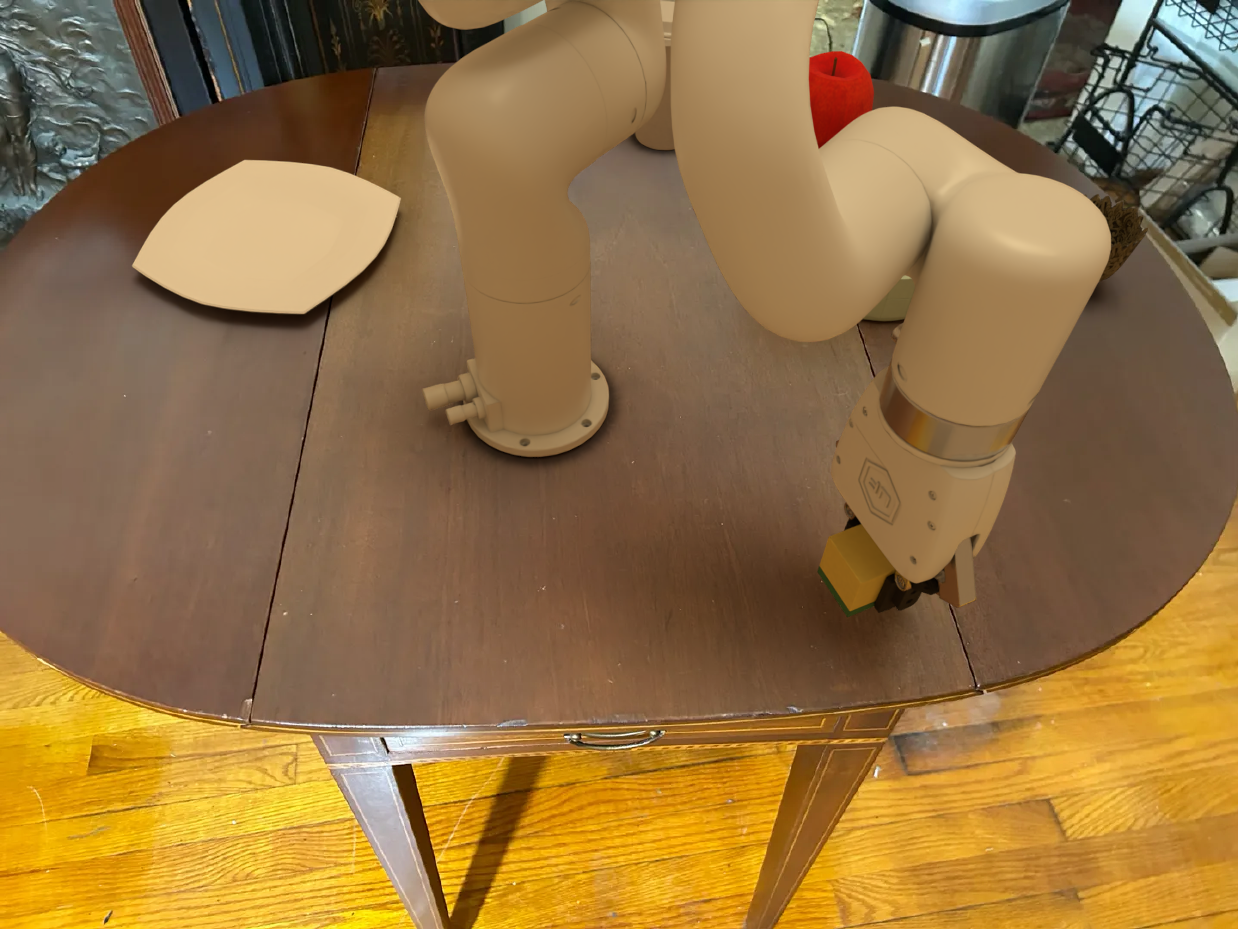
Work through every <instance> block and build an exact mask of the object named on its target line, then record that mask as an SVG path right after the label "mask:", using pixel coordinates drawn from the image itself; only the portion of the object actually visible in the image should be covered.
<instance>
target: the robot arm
mask: <svg viewBox="0 0 1238 929" xmlns="http://www.w3.org/2000/svg"><path fill="white" fill-rule="evenodd" d="M417 1H418V2H419V4H420V5H421V7H422V8H423V9H424V11H425V12H426V13H427V14H428V16H430V17H431V18H433V19H434V20H435V21H436V22H437V23H439V24H440V25H443V26H445V27H448V28H452V29H457V30H463V31H464V30H465V31H467V30H474V29H481V28H486V27H489V26H491V25H494V24H497V23H499V22H501V21H503V20H506V19H509V18H511V17H513V16H515V15H517V14H519V13H521V12H524V11H525V10H528V9H529V8H532V7H534V6H535V5H537V4H539V3H541V2H543V1H544V3H545V8H546V11H545V12H543V13H542V14H540V15H539V16H536V17H535V18H533V19H531V20H529V21H526V22H525V23H524V24H521V25H518V26H516V27H514V28H512V29H511V30H508V31H507V32H504V33H503V34H501V35H499V36H498V37H496V38H493V39H492V40H491V41H489V42H487V43H484V44H482V45H480V46H479V47H477V48H475V49H474V50H472V51H471V52H469V53H468V54H465V55H464V56H463V57H462V58H460V59H459V60H458V61H456V62H455V63H453V64H452V65H451V66H450V67H449V68H448V69H447V70H446V71H445V72H444V73H442V75H441V76H440V77H439V78H438V80H437V81H436V82H435V84H434V85H433V87H432V88H431V91H430V93H429V95H428V98H427V99H426V103H425V107H424V116H423V117H424V118H423V123H424V124H423V125H424V132H425V137H426V141H427V144H428V147H429V152H430V153H431V156H432V159H433V162H434V164H435V166H436V170H437V172H438V174H439V176H440V179H441V182H442V185H443V188H444V191H445V193H446V196H447V200H448V204H449V207H450V210H451V214H452V215H451V216H452V219H453V225H454V228H455V233H456V240H457V245H458V251H459V258H460V265H461V271H462V276H463V277H462V278H463V285H464V290H465V297H466V304H467V310H468V311H467V312H468V319H469V325H470V332H471V340H472V347H473V353H474V357H473V358H470V359H467V360H466V366H467V372H465V373H461V374H458V375H457V380H454V381H450V382H446V383H438V384H435V385H431V386H428V387H427V386H426V387H425V388H421V392H422V397H423V400H424V404H425V405H426V408H427V411H428V412H431V411H434V410H436V409H441V408H444V407H447V406H450V404H454V403H457V402H461V401H463V404H462V405H461V404H458V405H455V406H453V407H452V406H451V407H449V408H445V409H444V410H445V414H446V415H445V416H446V418H447V420H448V423H449V425H450V426H452V425H455V424H459V423H462V422H465V421H467V423H468V425H469V427H470V429H471V430H472V431H473V432H474V433H475V435H476V436H477V437H478V438H479V439H480V440H482V441H483V442H484V443H485V444H486V445H488V446H490V447H492V448H494V449H496V450H498V451H500V452H504V453H506V454H510V455H514V456H519V457H520V456H521V457H527V458H533V457H534V458H536V457H537V458H539V457H540V458H542V457H549V456H556V455H559V454H562V453H566V452H568V451H570V450H572V449H575V448H577V447H578V446H581V445H583V444H584V443H585V442H586V441H588V440H590V438H593V436H594V435H595V434H596V433H597V432H598V431H599V429H601V426H602V425H603V423H604V422H605V420H606V418H607V414H608V411H609V406H610V405H609V404H610V391H609V390H610V389H609V384H608V382H607V379H606V376H605V375H604V373H603V372H602V370H601V368H599V366H598V365H597V364H596V363H595V362H594V361H593V360H592V272H591V271H592V265H591V264H592V262H591V237H590V231H589V227H588V223H587V220H586V218H585V217H584V215H583V213H582V212H581V210H580V209H579V208H578V207H577V206H576V204H574V203H573V202H572V201H570V198H569V193H568V192H569V188H570V186H571V183H572V182H573V181H574V179H575V178H576V176H578V175H579V174H580V173H582V172H583V171H584V170H586V169H587V168H588V167H590V166H591V165H592V164H594V163H595V162H596V161H597V160H598V159H600V158H601V157H602V156H604V155H605V154H607V153H608V152H610V151H611V150H612V149H614V148H615V147H617V146H618V145H620V144H621V143H622V142H624V141H625V140H627V139H628V138H629V137H631V136H633V135H634V134H635V132H636V131H638V130H639V129H640V128H641V127H642V126H643V125H645V124H646V123H647V122H648V121H649V120H650V119H651V117H652V116H653V115H654V113H655V112H656V110H657V108H658V107H659V105H660V102H661V100H662V97H663V93H664V89H665V83H666V50H665V40H664V30H663V22H662V13H661V4H660V0H417ZM819 3H820V0H675V5H674V12H673V21H672V33H671V118H672V131H673V139H674V148H675V149H674V153H675V156H676V161H677V166H678V171H679V173H680V177H681V180H682V182H683V183H682V184H683V187H684V190H685V192H686V194H687V197H688V199H689V202H690V204H691V207H692V209H693V212H694V214H695V216H696V219H697V222H698V224H699V227H700V229H701V231H702V234H703V236H704V239H705V241H706V244H707V246H708V249H709V250H710V253H711V254H712V257H713V259H714V261H715V263H716V265H717V268H718V269H719V271H720V273H721V275H722V277H723V280H724V281H725V283H726V284H727V286H728V288H729V289H730V292H732V294H733V295H734V297H735V298H736V300H737V301H738V303H739V304H740V305H741V307H742V308H743V309H744V311H746V312H747V314H749V315H750V317H751V318H752V319H753V320H754V321H755V322H756V323H758V324H759V325H760V326H762V327H763V329H765V330H767V331H769V332H771V333H772V334H774V335H776V336H778V337H780V338H783V339H786V340H789V341H794V342H798V343H799V342H800V343H816V342H822V341H828V340H830V339H833V338H835V337H838V336H840V335H842V334H844V333H846V332H848V331H849V330H850V329H852V328H854V327H855V326H857V325H858V324H859V323H860V322H861V321H862V320H864V319H863V318H864V317H865V316H866V315H867V314H868V313H869V312H870V311H871V310H872V309H873V308H874V307H875V306H876V305H877V304H878V303H879V302H880V301H881V300H882V299H883V298H884V297H885V296H886V295H887V294H888V293H889V291H890V290H891V289H892V288H893V287H894V286H895V285H896V284H897V282H898V281H899V280H900V279H901V278H902V277H903V276H904V275H906V276H909V277H910V278H911V279H912V280H913V282H914V285H915V290H914V293H913V296H912V299H911V302H910V305H909V308H908V311H907V314H906V317H905V319H903V322H902V323H900V324H899V325H897V326H896V327H895V328H894V329H893V330H892V331H891V334H890V339H891V340H892V341H893V343H895V346H894V349H893V352H892V356H891V359H890V362H889V365H888V366H887V367H884V368H882V369H881V370H879V371H878V372H877V374H876V375H875V376H874V377H873V379H872V380H871V381H870V382H869V384H868V386H866V388H865V389H864V391H863V392H862V394H861V395H860V397H859V398H858V400H857V401H856V403H855V405H854V407H853V409H852V410H851V413H850V414H849V417H848V419H847V420H846V423H845V424H844V425H845V426H844V427H843V430H842V433H841V435H840V437H839V439H838V440H836V441H835V451H834V454H833V457H832V459H831V460H832V461H831V465H830V476H831V480H832V481H833V483H834V485H835V488H836V490H837V491H838V492H839V494H840V495H841V497H842V499H843V500H844V501H845V502H844V504H843V510H844V513H845V515H846V517H847V522H846V524H845V526H844V530H847V529H850V528H852V527H855V526H857V525H860V524H862V525H863V527H864V528H865V529H866V531H867V532H868V534H869V535H870V536H871V538H872V539H873V540H874V542H875V543H876V544H877V546H878V547H879V548H880V550H881V551H882V553H883V554H884V555H885V557H886V558H887V559H888V561H889V562H890V563H891V564H892V566H893V567H894V568H895V569H896V572H895V573H894V574H891V575H889V576H888V577H887V578H886V579H885V581H884V584H883V586H882V588H881V590H880V592H879V594H878V597H877V599H876V601H875V605H874V607H873V608H874V609H875V610H876V611H877V613H878V614H881V613H884V612H886V611H889V610H892V609H893V608H895V609H896V610H897V611H899V612H900V611H901V612H902V611H904V610H907V609H909V608H911V607H913V606H914V605H915V604H916V603H917V602H918V601H919V599H920V597H921V596H922V594H926V595H929V596H933V595H937V596H938V597H939V599H940V600H942V601H944V602H945V603H947V604H949V605H950V606H952V607H954V608H956V609H959V608H961V607H964V606H967V605H968V604H971V603H974V602H976V601H977V588H976V576H975V565H974V564H975V563H974V559H975V558H976V557H977V555H978V554H979V553H980V551H981V550H982V548H983V547H984V545H985V542H987V539H988V537H989V535H990V534H991V531H992V529H993V527H994V525H995V522H996V520H997V518H998V516H999V513H1000V511H1001V508H1002V505H1003V503H1004V500H1005V498H1006V495H1007V491H1008V488H1009V485H1010V482H1011V478H1012V473H1013V470H1014V465H1015V460H1016V456H1017V451H1016V449H1015V447H1014V446H1015V445H1014V444H1013V441H1014V440H1015V438H1016V435H1017V434H1018V431H1019V430H1020V428H1021V426H1022V424H1023V422H1024V421H1025V419H1026V417H1027V415H1028V413H1029V412H1030V409H1031V408H1032V406H1033V404H1034V401H1035V400H1036V398H1037V396H1038V395H1039V394H1040V391H1041V389H1042V386H1043V385H1044V383H1045V382H1046V380H1047V377H1048V375H1049V374H1050V372H1051V370H1052V369H1053V366H1054V365H1055V363H1056V361H1057V359H1058V358H1059V356H1060V355H1061V352H1062V350H1063V349H1064V347H1065V345H1066V343H1067V341H1068V339H1069V338H1070V336H1071V334H1072V331H1073V330H1074V328H1075V326H1076V324H1077V323H1078V321H1079V319H1080V317H1081V315H1082V313H1083V312H1084V310H1085V308H1086V305H1087V304H1088V302H1089V300H1090V299H1091V296H1092V295H1093V293H1094V291H1095V289H1096V287H1097V285H1098V283H1099V280H1100V278H1101V276H1102V273H1103V271H1104V269H1105V267H1106V265H1107V262H1108V260H1109V256H1110V251H1111V233H1110V230H1109V227H1108V224H1107V221H1106V218H1105V217H1104V215H1103V214H1102V212H1101V211H1100V210H1099V209H1098V208H1097V207H1096V206H1095V205H1094V204H1093V202H1092V201H1091V200H1089V199H1090V198H1088V196H1087V197H1086V196H1084V195H1085V194H1083V193H1082V192H1080V191H1078V190H1077V189H1075V188H1074V187H1073V186H1072V187H1071V186H1069V185H1067V184H1065V183H1063V182H1060V181H1058V180H1055V179H1052V178H1050V177H1049V178H1048V177H1045V176H1041V175H1038V174H1037V175H1036V174H1029V173H1020V172H1017V171H1015V170H1013V169H1012V168H1010V167H1009V166H1008V165H1005V164H1004V163H1002V162H1001V161H999V160H997V159H996V158H994V157H993V156H991V155H989V154H988V153H987V152H985V151H984V150H982V149H981V148H980V147H977V146H976V145H975V144H974V143H972V142H970V141H969V140H967V139H966V138H965V137H963V136H962V135H960V134H959V133H957V132H956V131H955V130H953V129H952V128H950V127H949V126H948V125H946V124H944V123H943V122H941V121H939V120H937V119H935V118H934V117H932V116H930V115H927V114H925V113H924V112H921V111H918V110H915V109H913V108H909V107H901V106H887V107H886V106H884V107H878V108H875V109H872V111H870V112H867V113H865V114H863V115H861V116H860V117H858V118H857V119H855V120H853V121H852V122H851V123H849V124H848V125H847V126H846V127H845V128H843V129H842V130H841V131H840V132H839V133H837V134H836V135H835V136H834V137H833V138H832V139H830V140H829V141H828V142H827V143H826V144H824V145H823V146H822V147H821V148H820V149H818V145H817V141H816V136H815V132H814V127H813V120H812V114H811V107H810V93H809V57H811V56H810V55H811V54H810V53H811V46H812V38H813V31H814V26H815V25H814V24H815V20H816V16H817V11H818V7H819ZM844 530H843V531H844Z"/></svg>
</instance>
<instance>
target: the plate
mask: <svg viewBox="0 0 1238 929" xmlns="http://www.w3.org/2000/svg"><path fill="white" fill-rule="evenodd" d="M401 200H402V198H401V197H400V196H398V195H396V194H394V193H393V192H391V191H389V190H387V189H385V188H383V187H381V186H379V185H377V184H375V183H373V182H371V181H369V180H367V179H364V178H362V177H359V176H357V175H354V174H353V173H350V172H346V171H344V170H341V169H338V168H335V167H330V166H325V165H319V164H312V163H304V162H303V163H302V162H294V161H278V160H261V159H260V160H259V159H244V160H242V161H239V162H238V163H236V164H235V165H232V166H231V167H229V168H227V169H225V170H223V171H222V172H220V173H218V174H216V175H214V176H213V177H211V178H210V179H208V180H206V181H204V182H203V183H201V184H200V185H198V186H197V187H194V189H192V190H191V191H189V192H187V193H186V194H185V195H183V197H181V198H180V199H179V200H178V201H177V202H175V203H174V204H173V205H172V206H171V207H170V208H169V209H168V210H167V211H166V212H165V213H164V214H163V215H162V216H161V217H160V219H159V221H158V222H156V224H155V225H154V227H153V228H152V230H151V231H150V232H149V233H148V236H147V238H146V239H145V241H144V243H143V245H142V247H141V248H140V250H139V252H138V253H137V255H136V257H135V259H134V262H133V263H132V265H131V267H132V268H133V269H134V270H136V271H137V272H138V273H140V274H142V275H143V276H144V277H146V278H147V279H149V280H150V281H152V282H154V283H155V284H157V285H159V286H161V287H162V288H164V289H165V290H167V291H169V292H171V293H173V294H175V295H177V296H178V297H179V296H180V297H182V298H183V299H185V300H189V301H192V302H194V303H197V304H200V305H202V306H206V307H210V308H216V309H220V310H227V311H228V310H229V311H236V312H245V313H252V314H253V313H254V314H269V315H289V316H290V315H294V316H305V315H306V314H308V313H309V312H311V311H312V310H314V309H315V308H317V307H318V306H320V305H321V304H323V303H325V302H326V301H327V300H328V299H330V298H332V297H333V296H334V295H336V294H337V293H338V292H340V291H341V290H343V289H344V288H346V287H347V286H348V285H349V284H350V283H352V282H353V281H354V280H355V279H357V277H359V276H360V275H361V274H363V272H364V271H365V270H366V269H367V268H368V267H370V265H371V264H372V263H374V261H375V260H376V258H377V257H378V256H379V254H380V252H382V250H383V248H384V247H385V245H386V243H387V240H388V238H389V237H390V235H391V232H392V231H393V226H394V224H395V222H396V218H397V215H398V211H399V208H400V203H401Z"/></svg>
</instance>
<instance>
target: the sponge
mask: <svg viewBox="0 0 1238 929" xmlns="http://www.w3.org/2000/svg"><path fill="white" fill-rule="evenodd" d="M895 572H896V569H895V568H894V567H893V566H892V564H891V563H890V562H889V561H888V559H887V558H886V557H885V555H884V554H883V553H882V551H881V550H880V548H879V547H878V546H877V544H876V543H875V542H874V540H873V539H872V538H871V536H870V535H869V534H868V532H867V531H866V529H865V528H864V527H863V525H862V524H860V525H857V526H855V527H852V528H850V529H847V530H841V531H840V532H837V533H834V534H831V535H829V536H828V537H827V540H826V544H825V547H824V549H823V553H822V556H821V559H820V562H819V565H818V568H817V572H816V573H817V574H818V575H819V577H820V578H821V580H822V581H823V583H824V584H825V586H826V588H827V589H828V590H829V592H830V593H831V595H832V597H833V598H834V600H835V601H836V602H837V604H838V606H839V607H840V608H841V610H842V612H843V613H844V615H845V616H846V618H849V617H852V616H854V615H857V614H859V613H862V612H864V611H867V610H869V609H871V608H875V607H874V605H875V601H876V599H877V597H878V594H879V592H880V590H881V588H882V586H883V584H884V581H885V579H886V578H887V577H888V576H889V575H891V574H894V573H895Z"/></svg>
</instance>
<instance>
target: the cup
mask: <svg viewBox="0 0 1238 929" xmlns="http://www.w3.org/2000/svg"><path fill="white" fill-rule="evenodd" d="M1083 195H1084V196H1086V197H1087V198H1088V194H1083ZM1088 199H1089V200H1091V201H1092V202H1093V204H1094V205H1095V206H1096V207H1097V208H1098V209H1099V210H1100V211H1101V212H1102V214H1103V215H1104V217H1105V218H1106V221H1107V224H1108V227H1109V230H1110V233H1111V251H1110V256H1109V260H1108V262H1107V265H1106V267H1105V269H1104V271H1103V273H1102V276H1101V278H1100V280H1099V282H1103V281H1105V280H1107V279H1109V278H1110V277H1112V276H1113V275H1115V274H1116V273H1117V272H1118V271H1119V270H1120V268H1121V267H1122V266H1123V265H1124V264H1125V263H1126V261H1127V260H1128V259H1129V258H1130V256H1132V254H1133V252H1134V251H1135V250H1136V248H1137V247H1138V246H1139V244H1140V243H1141V242H1142V240H1143V239H1144V238H1145V237H1146V234H1147V233H1148V231H1149V227H1144V228H1143V227H1142V226H1141V225H1142V222H1143V220H1144V215H1139V208H1138V207H1137V206H1130V207H1129V206H1128V207H1124V205H1125V204H1124V203H1125V201H1124V199H1121V200H1119V201H1117V202H1116V203H1115V205H1113V201H1112V200H1111V197H1110V195H1105V196H1104V197H1103V198H1101V196H1100V194H1099V193H1097V194H1094V195H1093V196H1092V197H1090V198H1088ZM1099 282H1098V283H1099Z"/></svg>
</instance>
